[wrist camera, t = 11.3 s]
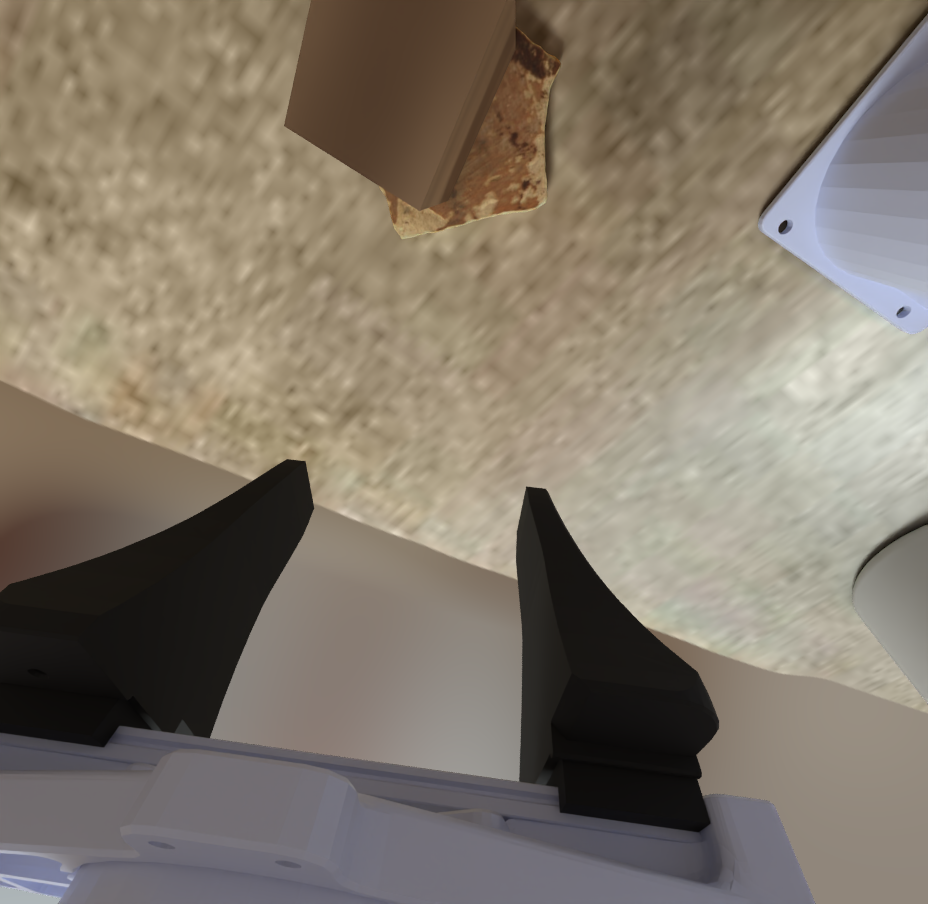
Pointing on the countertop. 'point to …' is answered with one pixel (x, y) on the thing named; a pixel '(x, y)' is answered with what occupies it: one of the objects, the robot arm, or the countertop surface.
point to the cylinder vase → (899, 604)
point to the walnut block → (401, 87)
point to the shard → (497, 152)
